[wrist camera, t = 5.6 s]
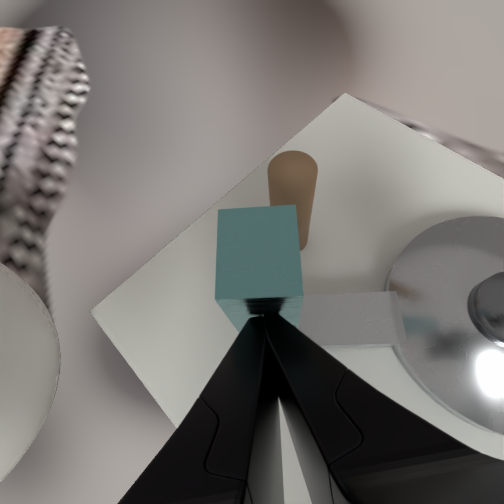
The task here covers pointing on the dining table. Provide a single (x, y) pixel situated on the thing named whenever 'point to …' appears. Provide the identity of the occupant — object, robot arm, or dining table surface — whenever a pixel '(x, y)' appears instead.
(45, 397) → the lidded bowl
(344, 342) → the flange plate
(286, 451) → the clock board
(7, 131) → the dining table surface
